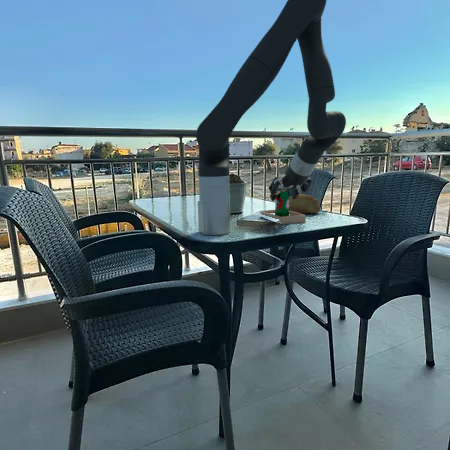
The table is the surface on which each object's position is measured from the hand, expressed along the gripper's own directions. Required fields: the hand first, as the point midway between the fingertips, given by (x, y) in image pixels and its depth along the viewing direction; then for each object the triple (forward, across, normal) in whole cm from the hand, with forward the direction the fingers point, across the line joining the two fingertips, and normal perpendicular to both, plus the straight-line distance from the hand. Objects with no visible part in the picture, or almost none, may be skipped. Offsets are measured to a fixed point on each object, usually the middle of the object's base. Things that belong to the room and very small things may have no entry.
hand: (282, 198), depth 115 cm
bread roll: (+12, -14, 0) cm, 18 cm away
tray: (+6, 0, +5) cm, 8 cm away
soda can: (+5, 0, +5) cm, 7 cm away
